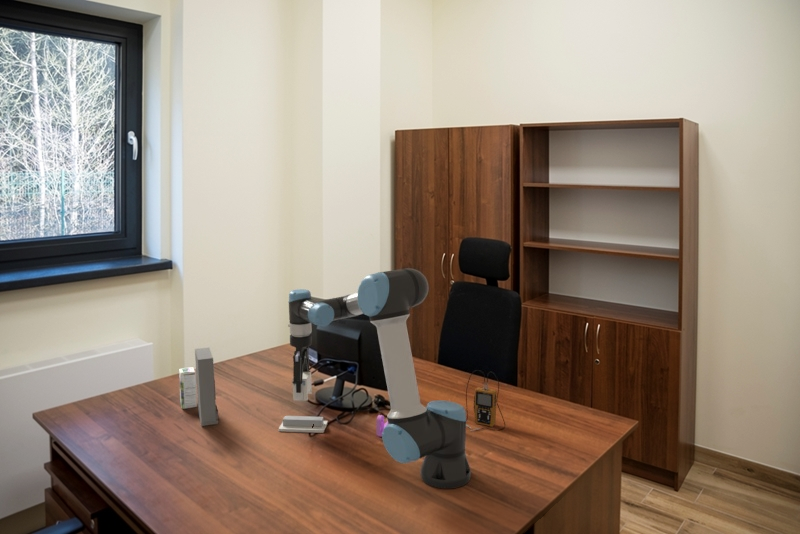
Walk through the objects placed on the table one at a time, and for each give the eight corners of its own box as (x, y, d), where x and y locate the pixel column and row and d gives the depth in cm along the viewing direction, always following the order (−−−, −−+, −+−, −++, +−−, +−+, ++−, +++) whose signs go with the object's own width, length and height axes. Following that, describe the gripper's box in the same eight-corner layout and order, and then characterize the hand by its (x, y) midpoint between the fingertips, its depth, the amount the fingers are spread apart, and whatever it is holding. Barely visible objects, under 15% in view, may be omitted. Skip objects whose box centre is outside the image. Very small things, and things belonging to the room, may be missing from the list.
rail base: (327, 423, 236) (327, 414, 236) (323, 432, 228) (323, 423, 228) (284, 422, 237) (283, 413, 237) (278, 431, 230) (278, 422, 229)
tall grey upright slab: (219, 424, 236) (215, 357, 231) (201, 426, 233) (197, 359, 229) (214, 410, 248) (211, 347, 244) (198, 412, 246) (194, 348, 242)
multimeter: (456, 429, 231) (457, 375, 228) (467, 419, 240) (468, 367, 236) (496, 437, 225) (497, 382, 221) (505, 426, 233) (507, 373, 230)
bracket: (391, 438, 224) (391, 419, 223) (376, 436, 226) (376, 417, 225) (403, 423, 236) (403, 405, 235) (389, 421, 238) (389, 403, 237)
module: (311, 392, 235) (311, 371, 233) (307, 401, 227) (306, 379, 226) (297, 392, 235) (297, 371, 233) (292, 400, 227) (292, 378, 226)
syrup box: (180, 404, 254) (177, 368, 252) (195, 401, 257) (193, 366, 254) (181, 409, 249) (179, 373, 246) (197, 406, 252) (195, 371, 249)
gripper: (296, 325, 237) (298, 385, 241) (282, 342, 217) (284, 407, 221) (317, 326, 236) (318, 385, 241) (304, 343, 216) (306, 407, 221)
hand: (302, 395), depth 231 cm, fingers closed on module, 8 cm apart
